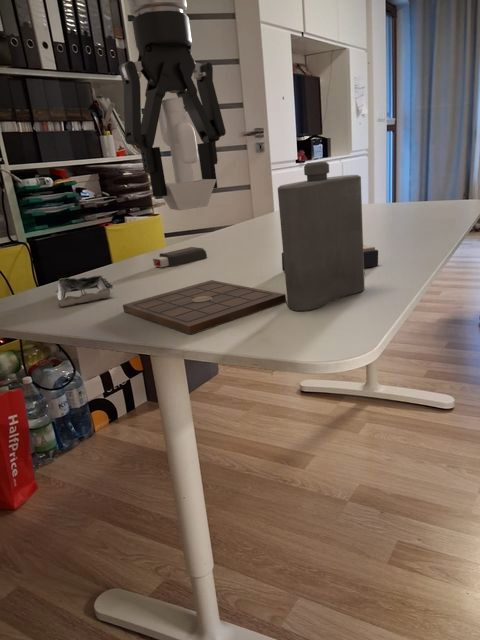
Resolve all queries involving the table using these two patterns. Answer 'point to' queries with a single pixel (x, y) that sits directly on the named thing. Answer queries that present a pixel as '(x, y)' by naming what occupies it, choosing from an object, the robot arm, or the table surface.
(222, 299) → the board
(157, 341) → the table surface
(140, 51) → the robot arm
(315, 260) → the flask
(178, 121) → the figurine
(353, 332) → the table surface
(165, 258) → the usb drive
